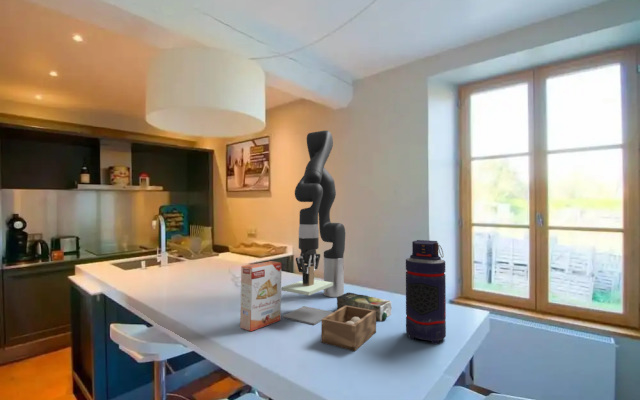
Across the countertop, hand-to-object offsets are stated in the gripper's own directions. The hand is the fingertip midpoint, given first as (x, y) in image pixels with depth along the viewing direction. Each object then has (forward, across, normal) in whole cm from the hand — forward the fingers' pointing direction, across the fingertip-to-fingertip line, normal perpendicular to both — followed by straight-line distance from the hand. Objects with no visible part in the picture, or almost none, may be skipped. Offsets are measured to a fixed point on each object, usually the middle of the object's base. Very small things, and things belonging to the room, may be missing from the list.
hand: (308, 282), depth 121 cm
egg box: (+12, +10, +22) cm, 27 cm away
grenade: (+13, -4, +42) cm, 44 cm away
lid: (+2, 0, 0) cm, 2 cm away
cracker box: (+13, +16, -9) cm, 22 cm away
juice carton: (+13, -14, +16) cm, 25 cm away
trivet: (+12, 0, 0) cm, 12 cm away
